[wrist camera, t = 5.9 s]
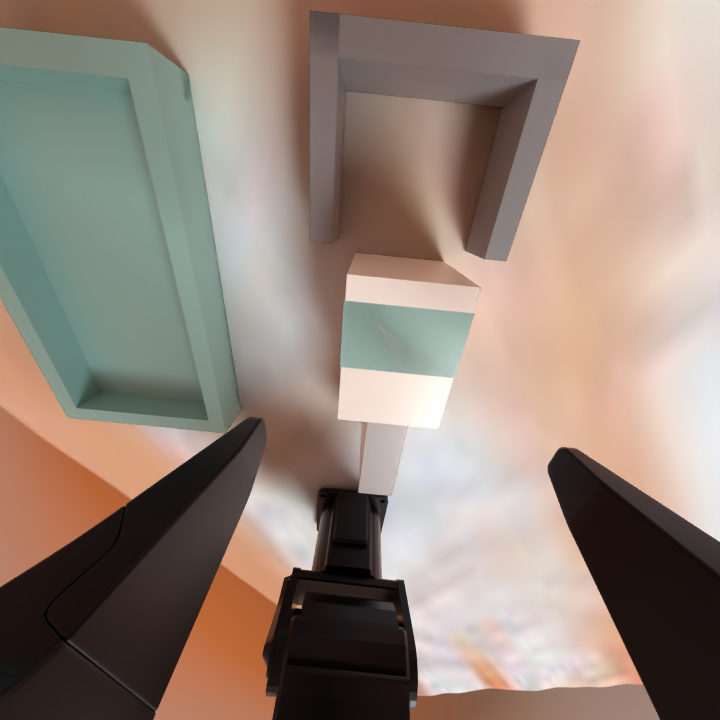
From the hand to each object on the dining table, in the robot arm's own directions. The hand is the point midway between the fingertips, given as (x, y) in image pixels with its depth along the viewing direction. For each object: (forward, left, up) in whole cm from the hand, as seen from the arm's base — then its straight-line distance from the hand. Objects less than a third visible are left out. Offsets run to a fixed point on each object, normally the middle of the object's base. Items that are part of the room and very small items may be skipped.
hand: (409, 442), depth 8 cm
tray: (+1, +16, -10) cm, 19 cm away
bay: (+8, 0, -10) cm, 13 cm away
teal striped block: (-2, 0, -10) cm, 10 cm away
